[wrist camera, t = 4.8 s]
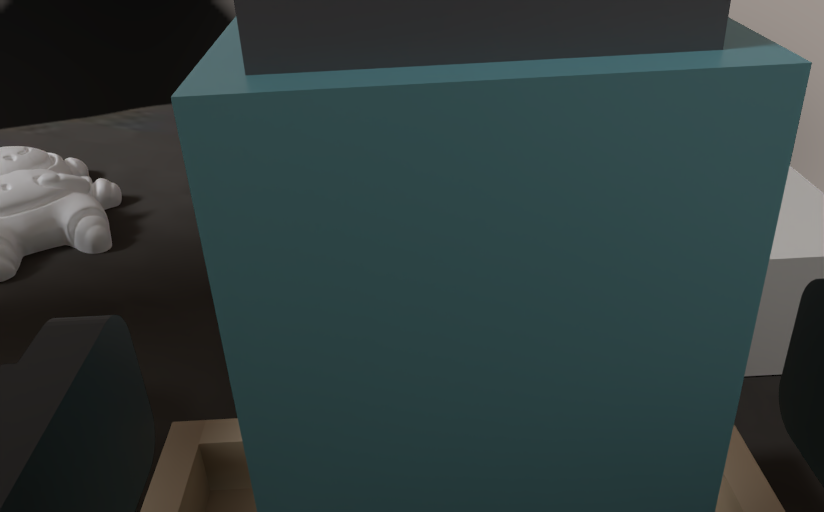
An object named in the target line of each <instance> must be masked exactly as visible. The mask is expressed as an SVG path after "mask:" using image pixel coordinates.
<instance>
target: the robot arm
mask: <svg viewBox="0 0 824 512" xmlns="http://www.w3.org/2000/svg"><path fill="white" fill-rule="evenodd" d="M779 405H780V411H781V415H782V419H783V422H784V425H785V428H786V430H787V432H788V434H789V436H790V437H791V439H792V440H793V442H794V443H795V445H796V446H797V448H798V449H799V451H800V452H801V454H802V455H803V457H804V458H805V460H806V462H807V463H808V465H809V466H810V468H811V469H812V471H813V472H814V474H815V475H816V477H817V478H818V480H819V481H820V483H821V484H822V486H823V487H824V278H822V279H815V280H812V281H811V282H810V283H809V284H808V285H807V286H806V287H805V289H804V291H803V293H802V296H801V300H800V304H799V308H798V312H797V316H796V320H795V324H794V328H793V332H792V336H791V340H790V344H789V348H788V352H787V356H786V360H785V364H784V368H783V372H782V376H781V380H780V385H779ZM154 448H155V427H154V419H153V414H152V410H151V407H150V403H149V400H148V396H147V393H146V389H145V385H144V382H143V378H142V375H141V371H140V368H139V364H138V360H137V357H136V353H135V350H134V346H133V343H132V339H131V335H130V332H129V329H128V327H127V324H126V323H125V321H124V320H123V318H122V317H120V316H118V315H103V316H85V317H66V318H52V319H50V320H48V321H47V322H46V323H45V324H44V325H43V326H42V328H41V329H40V331H39V332H38V334H37V335H36V337H35V338H34V339H33V341H32V342H31V344H30V345H29V347H28V348H27V350H26V351H25V352H24V354H23V355H22V357H21V358H20V360H19V361H18V363H13V364H3V365H2V366H0V512H135V510H136V507H137V505H138V502H139V499H140V497H141V494H142V491H143V488H144V486H145V483H146V480H147V477H148V475H149V472H150V469H151V466H152V461H153V456H154Z"/></svg>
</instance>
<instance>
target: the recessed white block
mask: <svg viewBox="0 0 824 512" xmlns="http://www.w3.org/2000/svg"><path fill="white" fill-rule="evenodd" d="M822 278H824V193H823V192H821V191H820V190H819V189H818V188H817V187H815V186H814V185H813V184H812V183H811V182H809V181H808V180H807V179H806V178H805V177H803V176H802V175H801V174H800V173H799V172H797V171H796V170H795V169H794V168H792V167H791V166H789V171H788V175H787V180H786V185H785V189H784V194H783V199H782V203H781V208H780V212H779V217H778V222H777V226H776V231H775V236H774V240H773V245H772V250H771V254H770V259H769V263H768V268H767V273H766V277H765V282H764V287H763V291H762V296H761V301H760V305H759V310H758V315H757V319H756V324H755V328H754V333H753V338H752V342H751V347H750V352H749V356H748V361H747V366H746V370H745V375H744V376H761V375H779V374H782V372H783V368H784V364H785V360H786V356H787V352H788V348H789V344H790V340H791V336H792V332H793V328H794V324H795V320H796V316H797V312H798V308H799V304H800V300H801V296H802V293H803V291H804V289H805V287H806V286H807V285H808V284H809V283H810V282H811V281H812V280H815V279H822Z"/></svg>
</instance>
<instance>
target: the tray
mask: <svg viewBox="0 0 824 512" xmlns="http://www.w3.org/2000/svg"><path fill="white" fill-rule="evenodd" d="M140 512H257V509H256V504H255V499H254V495H253V490H252V485H251V480H250V475H249V471H248V466H247V461H246V456H245V451H244V447H243V442H242V437H241V432H240V427H239V423H238V418H233V419H215V420H197V421H179V422H172V425H171V428H170V430H169V433H168V436H167V439H166V441H165V444H164V447H163V450H162V453H161V455H160V458H159V461H158V464H157V466H156V469H155V472H154V475H153V478H152V480H151V483H150V486H149V489H148V491H147V494H146V497H145V500H144V503H143V505H142V508H141V511H140ZM715 512H785V510H784V509H783V507H782V505H781V503H780V502H779V500H778V498H777V497H776V495H775V493H774V491H773V490H772V488H771V486H770V485H769V483H768V481H767V480H766V478H765V476H764V474H763V473H762V471H761V469H760V468H759V466H758V464H757V463H756V461H755V459H754V457H753V456H752V454H751V452H750V451H749V449H748V447H747V446H746V444H745V442H744V440H743V439H742V437H741V435H740V434H739V432H738V430H737V428H736V427H735V425H734V426H733V430H732V435H731V440H730V444H729V449H728V454H727V458H726V463H725V468H724V472H723V477H722V482H721V486H720V491H719V495H718V500H717V505H716V509H715Z"/></svg>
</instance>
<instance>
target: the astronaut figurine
mask: <svg viewBox="0 0 824 512" xmlns="http://www.w3.org/2000/svg"><path fill="white" fill-rule="evenodd" d="M121 200H122V194H121V190H120V188H119V186H118V185H117V184H115V183H111V182H110V181H108V180H106V179H103V178H99V179H97V180H96V181H95V182H94V183H93V182H92V179H91V178H90V177H89V172H88V168H87V166H86V165H85V163H84V162H82V161H81V160H79V159H76V158H67V159H65V160H64V161H63V159H62V158H61V157H60V156H58V155H56V154H54V153H47V152H45V151H43V150H40V149H36V148H31V147H23V146H9V147H0V282H3V281H5V280H8V279H10V278H12V277H13V276H15V275H16V272H17V270H18V268H19V266H20V263H21V260H22V258H23V257H24V256H26V255H29V254H33V253H36V252H40V251H43V250H47V249H50V248H54V247H58V246H62V245H68V246H71V247H73V248H77V249H78V250H79V251H81V252H84V253H90V254H97V253H102V252H105V251H108V250H109V249H110V248H111V247H112V239H111V233H110V227H109V221H108V217H107V215H106V213H105V211H104V210H106V209H109V208H112V207H116V206H118V205H120V204H121Z"/></svg>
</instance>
